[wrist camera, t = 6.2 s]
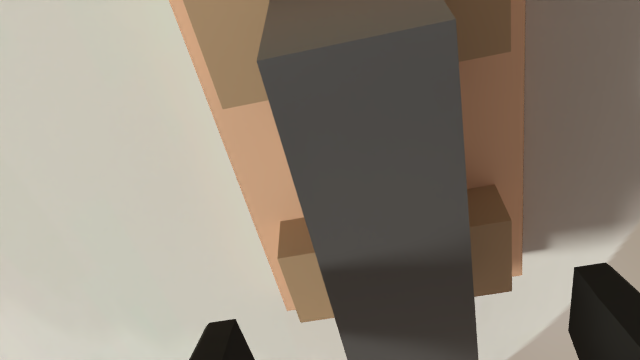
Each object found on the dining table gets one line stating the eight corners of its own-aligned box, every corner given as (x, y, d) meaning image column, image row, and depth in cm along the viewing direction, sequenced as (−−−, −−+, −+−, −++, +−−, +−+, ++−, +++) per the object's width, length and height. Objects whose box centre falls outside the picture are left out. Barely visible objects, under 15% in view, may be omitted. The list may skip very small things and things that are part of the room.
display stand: (510, 249, 23) (538, 313, 20) (288, 284, 24) (285, 349, 21) (508, -186, 14) (559, -182, 11) (150, -96, 15) (112, -71, 12)
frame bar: (450, 291, 20) (481, 405, 16) (356, 306, 20) (365, 419, 16) (415, -46, 13) (456, 19, 9) (272, -14, 13) (256, 60, 9)
